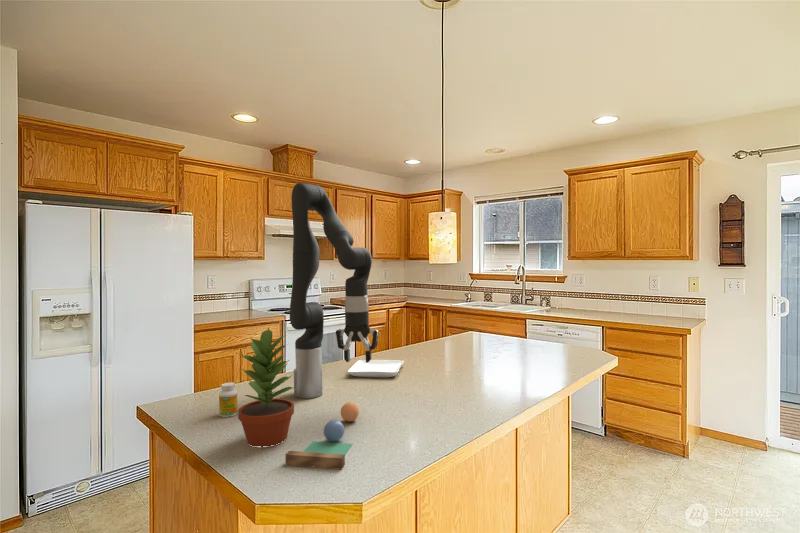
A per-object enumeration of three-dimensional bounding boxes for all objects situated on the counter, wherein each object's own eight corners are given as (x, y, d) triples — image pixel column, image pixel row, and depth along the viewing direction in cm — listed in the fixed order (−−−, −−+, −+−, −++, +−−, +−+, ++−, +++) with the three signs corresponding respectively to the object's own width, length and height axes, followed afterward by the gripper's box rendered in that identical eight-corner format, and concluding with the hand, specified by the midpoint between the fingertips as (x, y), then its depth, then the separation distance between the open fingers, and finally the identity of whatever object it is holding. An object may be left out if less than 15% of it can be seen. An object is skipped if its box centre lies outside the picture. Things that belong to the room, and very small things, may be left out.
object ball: (320, 444, 112) (320, 423, 112) (328, 435, 117) (327, 416, 117) (340, 445, 111) (340, 424, 111) (347, 437, 116) (346, 417, 116)
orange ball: (338, 424, 125) (337, 405, 125) (344, 417, 131) (343, 399, 131) (356, 425, 124) (355, 406, 124) (361, 418, 130) (360, 400, 130)
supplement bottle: (220, 418, 131) (219, 387, 131) (218, 413, 136) (218, 383, 136) (238, 415, 134) (238, 384, 134) (236, 410, 139) (236, 380, 138)
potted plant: (240, 457, 105) (237, 336, 105) (237, 434, 119) (234, 327, 119) (301, 445, 111) (298, 331, 111) (291, 425, 125) (289, 323, 125)
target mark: (295, 461, 103) (295, 460, 103) (312, 441, 113) (312, 441, 113) (338, 464, 101) (338, 463, 101) (352, 444, 111) (352, 443, 111)
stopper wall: (285, 464, 101) (285, 454, 101) (289, 460, 103) (289, 450, 103) (342, 469, 98) (341, 458, 98) (344, 465, 100) (344, 454, 100)
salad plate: (358, 366, 195) (358, 358, 194) (404, 367, 192) (404, 359, 192) (346, 379, 174) (346, 371, 174) (397, 380, 171) (397, 372, 171)
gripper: (331, 311, 134) (332, 364, 134) (375, 311, 131) (376, 365, 132) (339, 308, 141) (340, 358, 142) (381, 308, 139) (382, 359, 139)
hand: (357, 361), depth 137 cm, fingers open, 6 cm apart
